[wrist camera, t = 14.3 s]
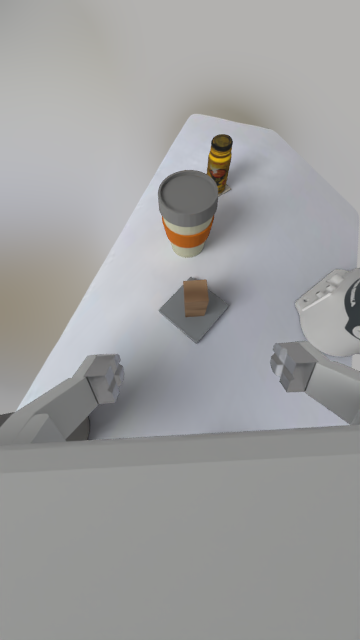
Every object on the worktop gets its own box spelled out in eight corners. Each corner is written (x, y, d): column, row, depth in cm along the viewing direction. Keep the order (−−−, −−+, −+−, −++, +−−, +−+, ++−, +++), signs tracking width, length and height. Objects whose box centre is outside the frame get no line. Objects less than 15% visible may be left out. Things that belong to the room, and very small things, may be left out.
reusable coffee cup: (217, 236, 50) (230, 181, 35) (196, 270, 47) (200, 225, 32) (179, 220, 52) (176, 162, 38) (157, 251, 49) (144, 201, 35)
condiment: (212, 199, 54) (218, 152, 42) (196, 183, 56) (199, 134, 45) (231, 189, 55) (243, 141, 43) (215, 174, 57) (222, 123, 45)
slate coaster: (190, 279, 46) (190, 276, 44) (227, 307, 43) (229, 305, 42) (159, 312, 44) (158, 310, 42) (196, 343, 41) (196, 342, 39)
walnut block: (184, 299, 43) (183, 281, 34) (202, 298, 43) (206, 279, 34) (185, 317, 41) (184, 302, 33) (204, 315, 41) (208, 300, 33)
